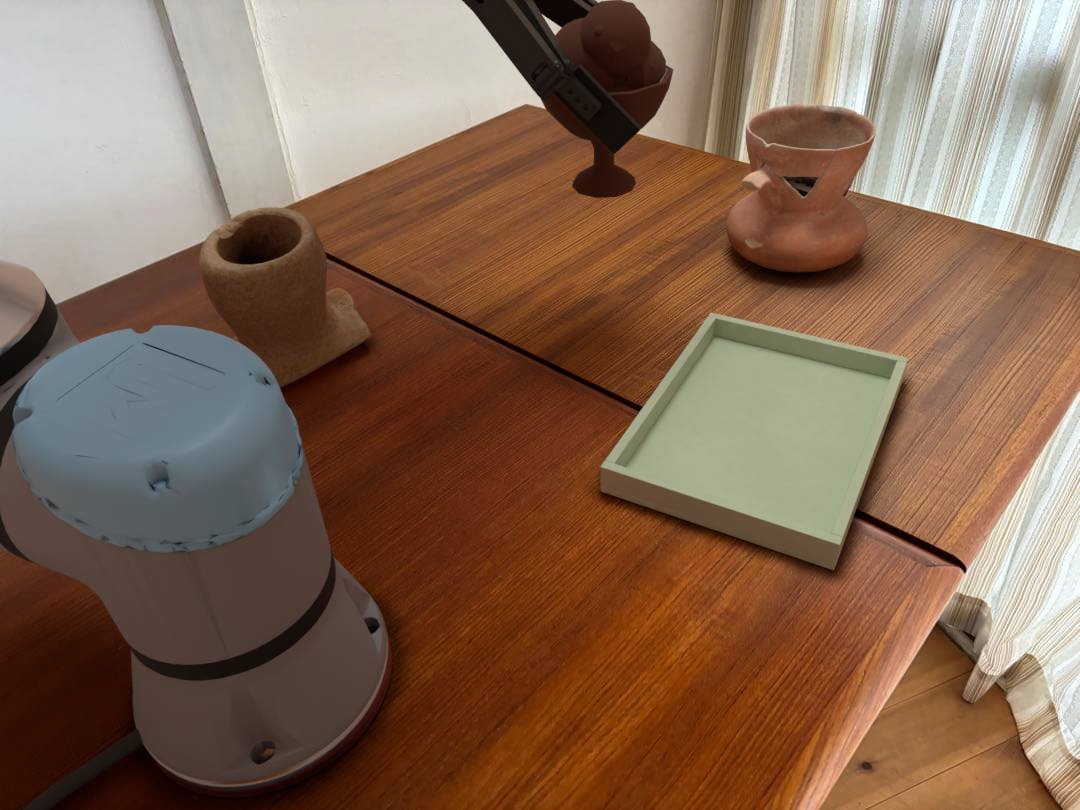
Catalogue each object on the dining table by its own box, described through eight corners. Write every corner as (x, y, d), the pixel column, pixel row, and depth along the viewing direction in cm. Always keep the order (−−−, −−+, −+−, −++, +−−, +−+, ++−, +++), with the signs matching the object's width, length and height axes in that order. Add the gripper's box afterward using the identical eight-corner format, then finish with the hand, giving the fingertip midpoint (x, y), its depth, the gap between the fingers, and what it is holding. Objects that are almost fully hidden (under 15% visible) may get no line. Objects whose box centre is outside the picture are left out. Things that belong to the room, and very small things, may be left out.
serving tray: (833, 570, 57) (840, 545, 56) (600, 491, 65) (600, 466, 63) (902, 382, 73) (908, 357, 72) (708, 335, 81) (710, 312, 79)
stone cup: (263, 424, 73) (212, 272, 64) (203, 369, 81) (149, 225, 71) (405, 350, 81) (378, 205, 72) (338, 306, 88) (306, 169, 79)
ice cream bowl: (675, 164, 76) (685, -18, 67) (651, 217, 68) (659, 18, 59) (562, 156, 79) (557, -20, 70) (526, 206, 71) (514, 14, 62)
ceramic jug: (793, 307, 84) (814, 170, 75) (688, 255, 93) (696, 128, 84) (903, 247, 92) (933, 117, 83) (796, 205, 101) (813, 84, 92)
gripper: (409, -122, 52) (656, 135, 58) (502, -160, 70) (682, 39, 76) (345, -25, 56) (581, 204, 62) (448, -85, 74) (623, 98, 80)
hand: (637, 114), depth 69 cm, fingers closed on ice cream bowl, 11 cm apart
